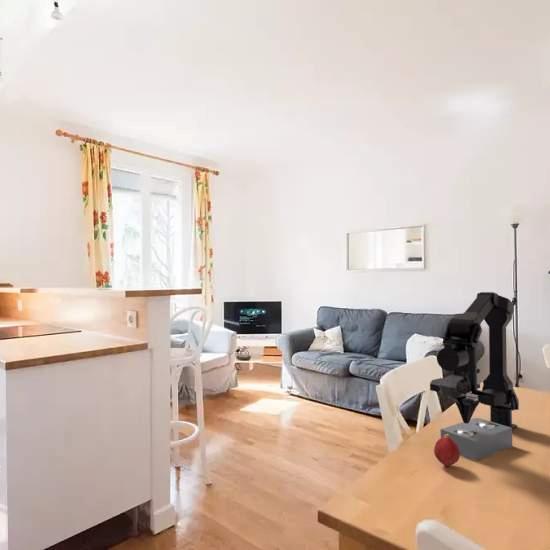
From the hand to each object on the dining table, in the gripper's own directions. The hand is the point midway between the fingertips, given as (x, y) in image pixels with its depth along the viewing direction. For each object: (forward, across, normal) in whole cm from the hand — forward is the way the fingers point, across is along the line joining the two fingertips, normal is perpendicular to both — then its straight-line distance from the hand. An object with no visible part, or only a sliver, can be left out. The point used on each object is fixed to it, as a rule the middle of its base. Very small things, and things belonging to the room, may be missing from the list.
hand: (466, 423), depth 107 cm
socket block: (+7, 0, +4) cm, 9 cm away
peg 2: (+7, 0, +9) cm, 12 cm away
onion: (+8, +3, -13) cm, 15 cm away
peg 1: (+7, 0, -1) cm, 7 cm away
